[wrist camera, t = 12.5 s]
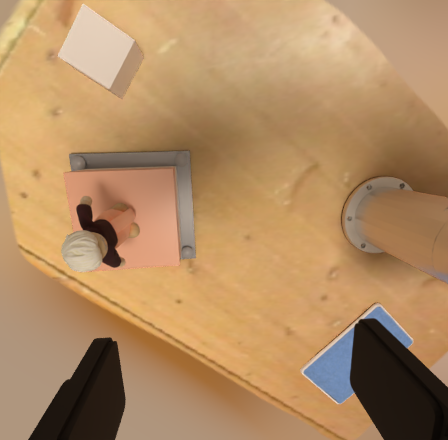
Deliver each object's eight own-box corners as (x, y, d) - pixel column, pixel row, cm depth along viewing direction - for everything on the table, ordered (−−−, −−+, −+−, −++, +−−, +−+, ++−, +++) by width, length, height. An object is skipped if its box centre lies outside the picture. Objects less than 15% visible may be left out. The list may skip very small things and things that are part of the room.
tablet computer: (336, 401, 54) (340, 407, 53) (296, 367, 51) (299, 373, 50) (411, 337, 52) (416, 342, 51) (374, 298, 49) (379, 302, 48)
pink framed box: (189, 150, 39) (189, 150, 31) (195, 255, 43) (196, 278, 35) (72, 154, 37) (40, 154, 29) (89, 263, 41) (65, 288, 33)
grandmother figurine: (154, 234, 33) (132, 282, 21) (128, 251, 33) (91, 309, 21) (113, 181, 31) (62, 200, 19) (86, 200, 31) (17, 230, 19)
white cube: (101, 28, 34) (82, 2, 28) (144, 58, 36) (135, 39, 30) (79, 72, 35) (57, 55, 29) (122, 99, 36) (109, 89, 31)
